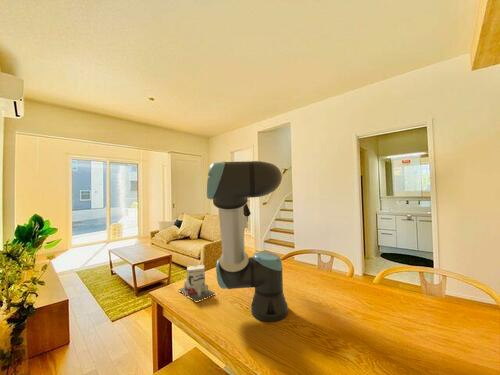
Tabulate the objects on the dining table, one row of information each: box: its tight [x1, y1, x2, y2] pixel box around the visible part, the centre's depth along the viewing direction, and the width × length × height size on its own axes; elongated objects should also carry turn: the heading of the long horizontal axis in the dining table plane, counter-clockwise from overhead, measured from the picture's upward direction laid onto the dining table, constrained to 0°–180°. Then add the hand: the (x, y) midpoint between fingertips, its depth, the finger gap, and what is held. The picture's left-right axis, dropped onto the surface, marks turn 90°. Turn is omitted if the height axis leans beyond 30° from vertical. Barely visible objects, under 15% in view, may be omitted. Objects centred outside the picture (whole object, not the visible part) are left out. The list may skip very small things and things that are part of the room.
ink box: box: [186, 264, 206, 294], centre depth 106 cm, size 9×5×12 cm, turn 106°
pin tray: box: [178, 279, 216, 301], centre depth 106 cm, size 17×10×5 cm, turn 45°
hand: (236, 229), depth 117 cm, fingers open, 13 cm apart
